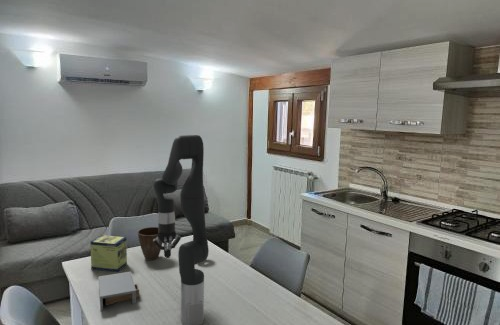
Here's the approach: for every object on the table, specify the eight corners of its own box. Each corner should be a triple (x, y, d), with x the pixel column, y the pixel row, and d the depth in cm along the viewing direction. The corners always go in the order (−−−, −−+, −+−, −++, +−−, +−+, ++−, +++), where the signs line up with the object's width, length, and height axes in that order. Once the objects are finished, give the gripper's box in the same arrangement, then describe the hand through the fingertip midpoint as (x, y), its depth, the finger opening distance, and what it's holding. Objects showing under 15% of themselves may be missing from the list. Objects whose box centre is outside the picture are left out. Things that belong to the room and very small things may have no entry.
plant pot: (138, 253, 209) (137, 227, 207) (163, 251, 214) (163, 226, 211) (138, 264, 195) (137, 236, 193) (165, 261, 199) (165, 234, 197)
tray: (139, 298, 159) (139, 289, 158) (105, 304, 153) (105, 295, 152) (137, 293, 164) (137, 283, 163) (105, 298, 158) (105, 289, 157)
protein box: (117, 272, 185) (117, 243, 183) (90, 269, 187) (89, 241, 185) (127, 263, 195) (127, 237, 193) (101, 261, 197) (100, 234, 195)
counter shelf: (136, 304, 154) (135, 290, 153) (100, 311, 148) (99, 296, 147) (131, 284, 172) (130, 271, 171) (99, 289, 166) (98, 276, 165)
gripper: (153, 225, 155) (154, 262, 157) (182, 221, 160) (183, 258, 162) (150, 220, 162) (151, 256, 164) (179, 217, 167) (179, 252, 169)
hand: (167, 257), depth 163 cm, fingers closed
